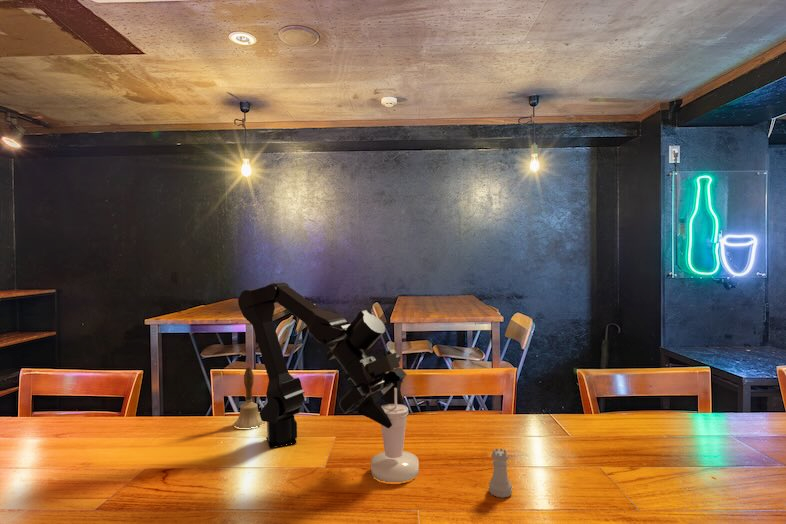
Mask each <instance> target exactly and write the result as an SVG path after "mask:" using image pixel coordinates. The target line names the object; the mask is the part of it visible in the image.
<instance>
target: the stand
mask: <svg viewBox="0 0 786 524" xmlns="http://www.w3.org/2000/svg"><path fill="white" fill-rule="evenodd" d="M419 464H420V462H419V458H418V456H417V455H415V454H413V453H412V452H408V451H405V450H403V454H402V456H401V457H398V458H389V457H387V456H386V455H385V451H382V452H380V453H378V454H376V455H374V456H372V459H371V460H370V472H371V473H370V475H371V474H372V475H371V477H372V476H373V477H375V478H376V479H378V480H380V481H385V482H403V481H407V480H411V479H412V478H414V477H416V476H417V475H418V472H419V471H420V469H419ZM419 473H420V472H419ZM418 476H419V475H418ZM373 477H372V478H373Z"/></svg>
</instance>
